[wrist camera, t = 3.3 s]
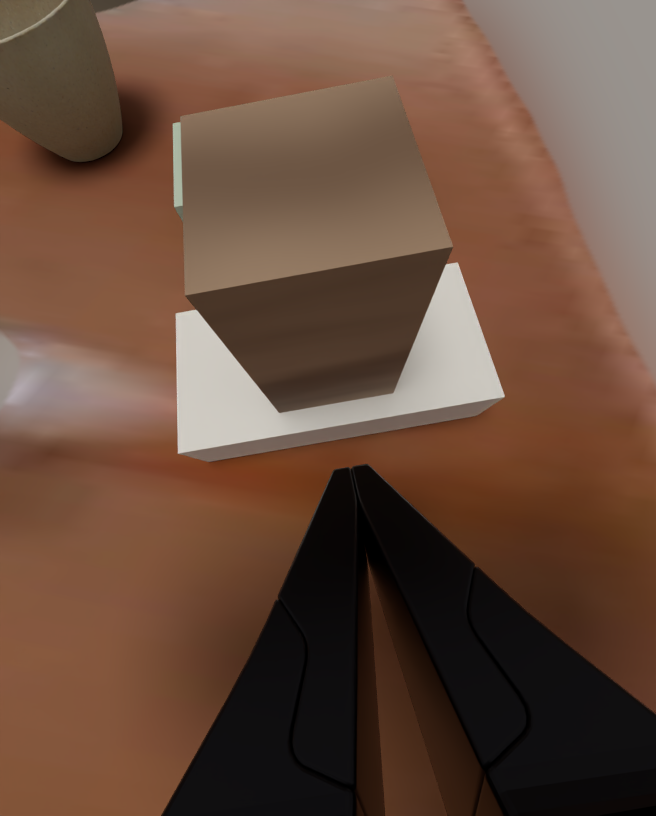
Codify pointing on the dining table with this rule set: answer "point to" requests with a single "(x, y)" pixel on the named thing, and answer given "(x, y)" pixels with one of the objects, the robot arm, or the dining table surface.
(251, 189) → the walnut block
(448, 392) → the board
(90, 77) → the flower pot
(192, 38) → the dining table surface
